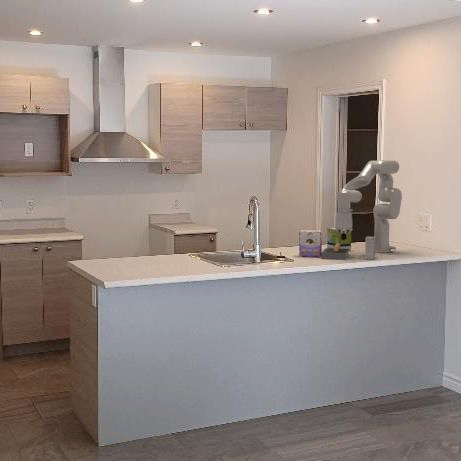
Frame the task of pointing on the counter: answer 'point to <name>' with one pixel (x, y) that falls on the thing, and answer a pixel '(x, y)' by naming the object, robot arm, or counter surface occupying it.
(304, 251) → the candy box
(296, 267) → the counter surface
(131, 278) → the counter surface
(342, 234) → the robot arm
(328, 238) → the tea box
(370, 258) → the junction box
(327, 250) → the breaker panel
